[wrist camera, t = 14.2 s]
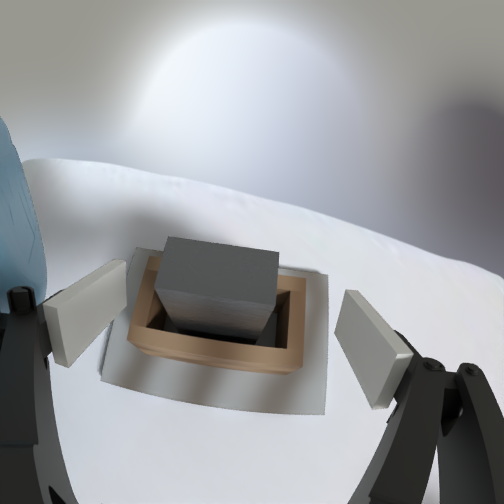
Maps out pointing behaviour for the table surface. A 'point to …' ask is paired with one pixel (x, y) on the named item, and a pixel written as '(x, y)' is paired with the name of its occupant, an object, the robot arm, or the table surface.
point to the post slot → (224, 349)
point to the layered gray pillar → (217, 289)
